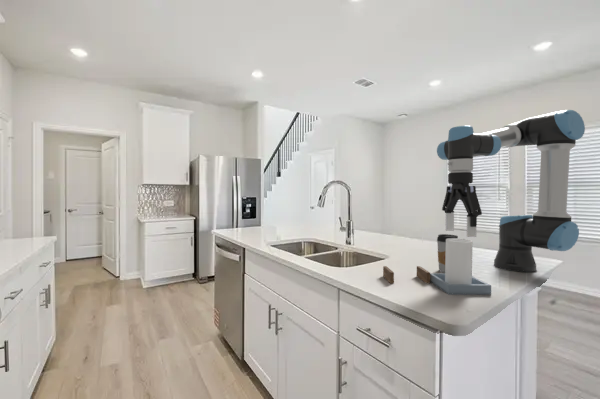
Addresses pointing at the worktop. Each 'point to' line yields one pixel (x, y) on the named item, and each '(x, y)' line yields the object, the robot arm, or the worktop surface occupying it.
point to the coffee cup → (442, 249)
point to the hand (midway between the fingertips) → (459, 233)
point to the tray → (460, 286)
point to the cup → (458, 261)
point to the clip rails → (421, 274)
